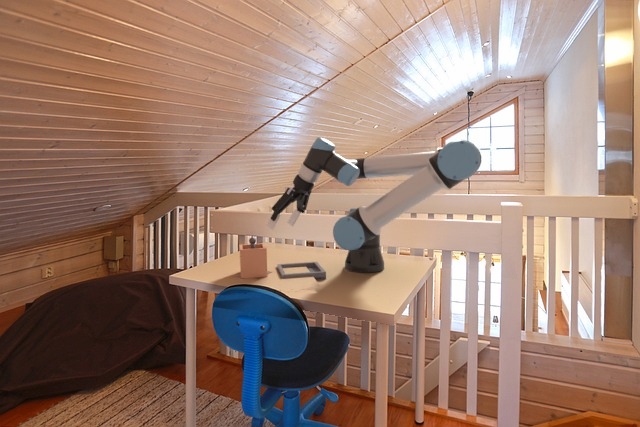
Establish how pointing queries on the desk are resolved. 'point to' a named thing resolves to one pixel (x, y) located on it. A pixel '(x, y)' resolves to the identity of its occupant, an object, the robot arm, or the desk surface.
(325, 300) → the desk surface
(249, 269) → the orange block
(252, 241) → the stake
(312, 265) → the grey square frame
